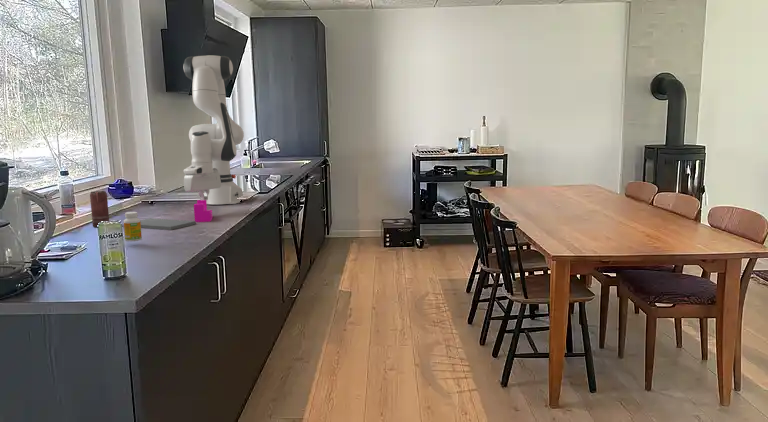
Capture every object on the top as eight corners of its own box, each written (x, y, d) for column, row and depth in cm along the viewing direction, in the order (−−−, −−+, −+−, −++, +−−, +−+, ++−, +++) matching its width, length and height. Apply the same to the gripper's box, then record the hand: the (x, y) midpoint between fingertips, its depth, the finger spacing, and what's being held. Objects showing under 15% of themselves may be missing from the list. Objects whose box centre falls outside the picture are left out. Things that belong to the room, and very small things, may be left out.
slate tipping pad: (150, 221, 242) (150, 218, 241) (195, 224, 232) (195, 221, 232) (123, 226, 229) (123, 223, 229) (170, 229, 220) (170, 226, 219)
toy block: (210, 221, 238) (209, 204, 237) (194, 222, 237) (193, 204, 236) (213, 216, 253) (212, 199, 252) (198, 217, 252) (197, 200, 250)
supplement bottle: (131, 242, 197) (129, 214, 196) (121, 240, 200) (119, 213, 198) (145, 239, 201) (143, 212, 200) (135, 238, 204) (133, 211, 203)
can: (92, 228, 227) (89, 192, 225) (92, 225, 232) (89, 191, 230) (109, 226, 229) (106, 191, 227) (109, 224, 235) (106, 190, 233)
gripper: (212, 167, 263) (214, 197, 265) (180, 170, 244) (182, 202, 246) (223, 167, 260) (225, 197, 262) (192, 170, 242) (194, 203, 243)
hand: (204, 200), depth 254 cm, fingers closed
